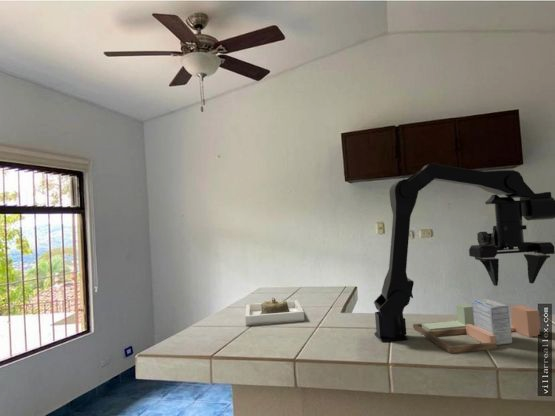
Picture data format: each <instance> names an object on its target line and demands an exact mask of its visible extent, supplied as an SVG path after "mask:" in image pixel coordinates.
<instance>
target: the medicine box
mask: <svg viewBox="0 0 555 416" xmlns="http://www.w3.org/2000/svg"><path fill="white" fill-rule="evenodd" d="M471 303H472V304H471V305H472V306H473V316H474V326H476V327H478V328H480V329H482V330H484V331H486V332H489V333H491V334H493V335H495V338H496V343H497V346H499V345H507V344H509V345H511V344H512V343H513V338H512V331H511V327H512V325H511V316H510V309H509V306H508V305H507V304H504V303H502V302H498V301H495V300H491V299H489V298H487V299H477V300H473V301H472V302H471Z"/></svg>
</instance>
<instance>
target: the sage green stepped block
mask: <svg viewBox="0 0 555 416" xmlns="http://www.w3.org/2000/svg"><path fill="white" fill-rule="evenodd" d="M455 309H456V310H455V312H456V320H449V322H445V321H437V323H434V322H427V323H426V322H425V323H426V324H422V323H421V324H422V328H423V329H425V330H426V331H433V330H444V329H456V328H466V324H472V325H474V316H473V305H472V304H470V303H457V304H456V303H455Z"/></svg>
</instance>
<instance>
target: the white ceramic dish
mask: <svg viewBox="0 0 555 416" xmlns="http://www.w3.org/2000/svg"><path fill="white" fill-rule="evenodd" d="M285 301H286V302H287V304H288V308H289V312H284V313H272V314H260V313H261V304H262V303H263V302H259V303H247V304H245V305H246V306H245V307H246V308H245V319H244V320H245V326H246V327H247V326H248V327H249V326H250V327H251V326H258V325H259V326H260V325H271V324H283V323H295V322H305V311H304V310H303V308H302V306H301V304H300V302H299V300H296V299H295V300H285ZM277 302H278V303H279V302H280V301H277Z"/></svg>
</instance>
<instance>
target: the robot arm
mask: <svg viewBox="0 0 555 416" xmlns="http://www.w3.org/2000/svg"><path fill="white" fill-rule="evenodd" d="M432 181H436V182H437V181H438V182H444V183H445V182H446V183H451V184H458V185H465V186H471V187H477V188H479V189H481V190H483V191H486V192H489V193H491V194H492V195H491V196H490V197H489V198H488V199H487V200H486V201H485V205H494V212H495V214H494V215H495V225H493V226H492V232H490V233H489V232H487V231H479V232H477V234H476V235H477V242H478V244H472V245H470V247H469V249H468V254H469V257H474V259H475V260H477V261H479V262H480V263H482V265H483V266H484V268H485V270H486V272H487V275H488V276H489V278H490V280H491V282H492V285H493V286H495V287H498V285H499V266H500V265H499V261H500V260H499V258H497V257H496V256H497V255H501V254H502V255H503V254H519V253H523V256H524V258H525V260H526V262H527V276H528V277H527V278H528V283H529V284H534V283H535V281H536V279H537V277H538V275H539V273H540V271H541V269H542V267H543V266H544V264H545V262H546V261H547V259H549V258H551V255H555V245H554V244H553V243H552V242H551V241H540V240H539V241H525V239H524V231H525V230H527V224H523V218H524V220H526V221H543V220H544V221H545V220H554V219H555V198H554V197H553V196H552V192H551V191H546V192H544V191H543V192H537V193H536V192H534V191H533V190H532V189H531V188H530V187H529V185H528V184H527V183H526V182H525V180H524V177H523V175H522V174H521V173H520V172H519V171H517V170H514V169H510V170H509V169H508V170H507V169H506V170H503V169H502V170H501V169H500V170H477V169H469V168H465V167H457V166H451V165H450V166H449V165H446V164H445V165H444V164H438V163H436V162H431V163H428V164H427V165H424V166H423V167H422V168H421V169H420V170H418V171H417V172H415V173H414V174H412V175H411V176H409V177H408V178H405V179H404V178H403V179H400V180H399V181H396V182H394V183H393V184H392V185H391V186H390V188H389V200H390V201H389V202H390V207H391V212H392V225H391V239H390V249H389V252H390V253H389V264H388V270H387V272H386V275H385V278H384V280H383V285H382V289H381V293H380V294H379V296H377V298H376V299H375V300H374V302H373V304H374V306H375V308H376V310H377V311H374V316H375V318H374V319H375V332H374V336H376V337H377V338H378V339H379V340H380V341H381V342H393V341H402V340H403V341H405V340H408V337H407V336H406V335H407V326H406V325H407V322H406V318H405V317H404V309H405V308H406V307H407V306H409V304H410V301H411V299H414V296H413V287H414V280H412V279H410V278H409V277H408V275H407V274H408V273H407V267H408V266H407V264H408V252H409V251H408V250H409V239H410V238H409V237H410V228H411V227H410V226H411V217H412V216H411V215H412V213H413V211H414V208H415V206H416V202H417V199H418V195H419V191H421V190H422V189H424V188H425V187H427V185H429V184H430V183H432ZM515 199H519V200H515Z"/></svg>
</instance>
